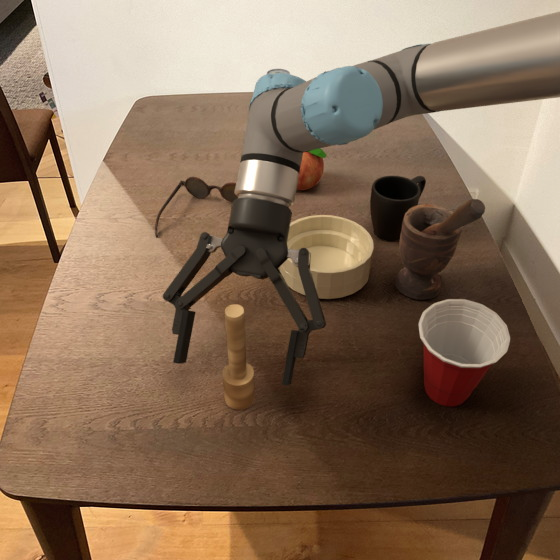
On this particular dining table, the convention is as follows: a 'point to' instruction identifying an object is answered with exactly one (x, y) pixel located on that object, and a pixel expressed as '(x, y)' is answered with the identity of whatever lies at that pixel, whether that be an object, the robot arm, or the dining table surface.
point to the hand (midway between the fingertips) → (232, 373)
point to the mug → (393, 204)
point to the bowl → (330, 255)
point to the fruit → (311, 169)
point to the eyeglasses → (200, 192)
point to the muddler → (237, 362)
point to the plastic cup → (459, 348)
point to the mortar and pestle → (430, 245)
